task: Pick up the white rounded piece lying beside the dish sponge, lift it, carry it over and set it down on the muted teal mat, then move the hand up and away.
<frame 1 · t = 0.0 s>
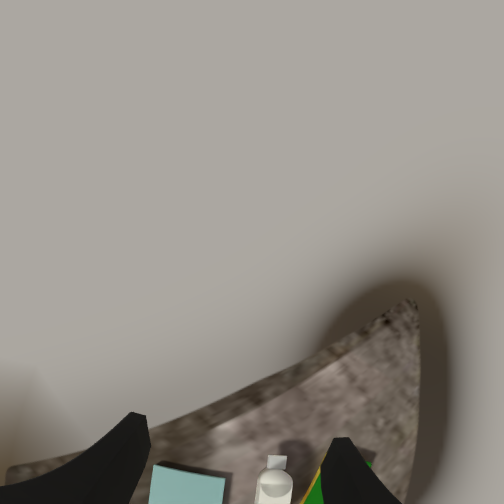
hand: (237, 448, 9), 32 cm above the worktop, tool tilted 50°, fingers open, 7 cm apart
white rounded piece: (270, 493, 31), on the worktop
dish sponge: (327, 495, 31), on the worktop
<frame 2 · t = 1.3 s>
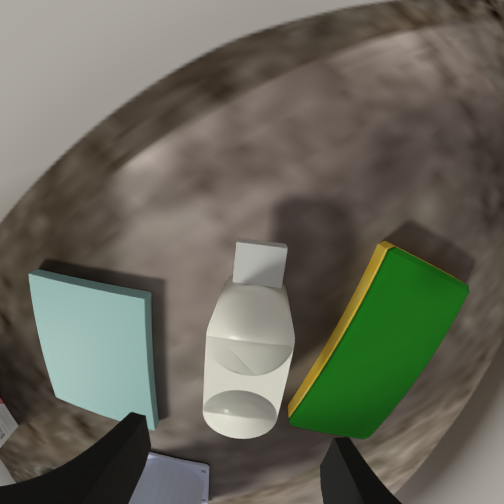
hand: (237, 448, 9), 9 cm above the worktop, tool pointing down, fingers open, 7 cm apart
white rounded piece: (249, 334, 18), on the worktop
dish sponge: (371, 345, 19), on the worktop
teal mat: (95, 352, 19), on the worktop
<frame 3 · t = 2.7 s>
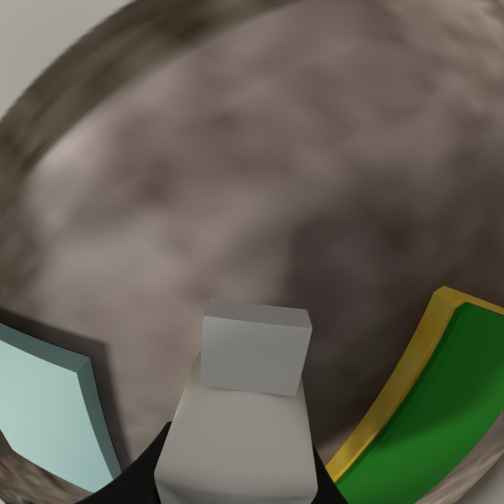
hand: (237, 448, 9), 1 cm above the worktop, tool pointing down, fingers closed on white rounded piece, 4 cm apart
white rounded piece: (240, 423, 11), on the worktop, touching gripper
dish sponge: (412, 419, 11), on the worktop
teal mat: (41, 414, 12), on the worktop
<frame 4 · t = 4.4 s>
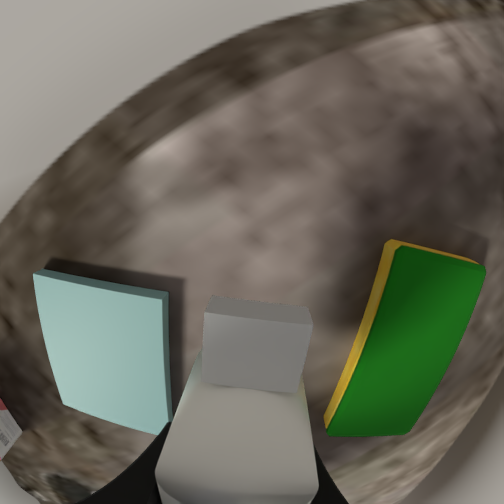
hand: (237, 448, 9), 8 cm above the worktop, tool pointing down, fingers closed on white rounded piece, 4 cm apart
white rounded piece: (240, 421, 11), point 7 cm above the worktop, touching gripper
dish sponge: (396, 343, 18), on the worktop
teal mat: (105, 356, 18), on the worktop
when the fingers open (4 cm above the worktop, at t = 6.3 s): white rounded piece drops 1 cm, resting on teal mat.
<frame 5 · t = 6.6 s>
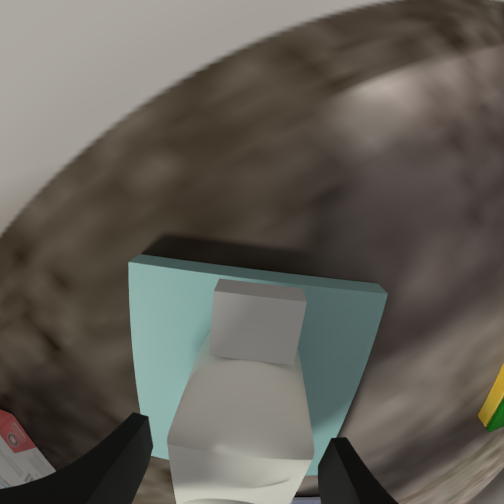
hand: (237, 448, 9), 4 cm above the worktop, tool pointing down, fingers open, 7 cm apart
white rounded piece: (243, 402, 12), point 1 cm above the worktop, touching teal mat
ink cartridge box: (23, 438, 17), on the worktop
teal mat: (244, 387, 13), on the worktop
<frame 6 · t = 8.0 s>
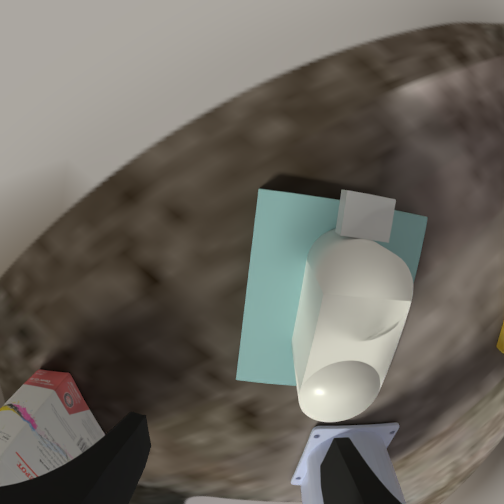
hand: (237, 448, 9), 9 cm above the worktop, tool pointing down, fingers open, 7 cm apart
white rounded piece: (332, 305, 17), point 1 cm above the worktop, touching teal mat
ink cartridge box: (72, 403, 22), on the worktop
teal mat: (328, 298, 18), on the worktop
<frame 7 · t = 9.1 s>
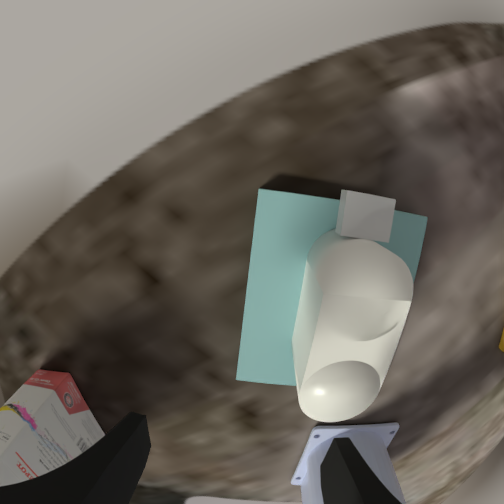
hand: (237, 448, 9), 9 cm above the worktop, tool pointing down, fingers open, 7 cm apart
white rounded piece: (332, 305, 17), point 1 cm above the worktop, touching teal mat
ink cartridge box: (72, 403, 22), on the worktop
teal mat: (328, 298, 18), on the worktop
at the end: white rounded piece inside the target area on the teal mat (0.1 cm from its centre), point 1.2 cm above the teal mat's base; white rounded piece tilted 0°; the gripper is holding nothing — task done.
